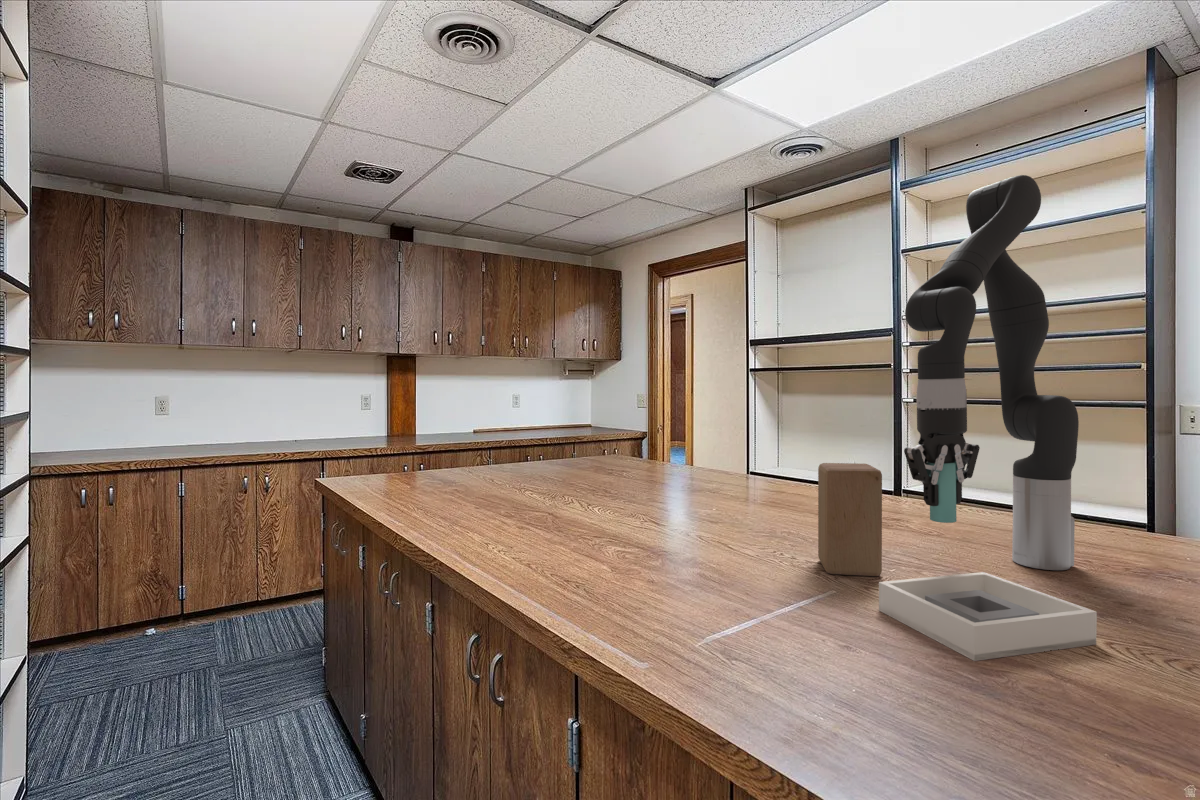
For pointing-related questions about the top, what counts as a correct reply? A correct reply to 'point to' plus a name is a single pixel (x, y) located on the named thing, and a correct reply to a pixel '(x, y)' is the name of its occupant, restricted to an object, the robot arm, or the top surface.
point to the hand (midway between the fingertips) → (942, 503)
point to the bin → (987, 615)
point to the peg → (945, 495)
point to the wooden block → (850, 519)
